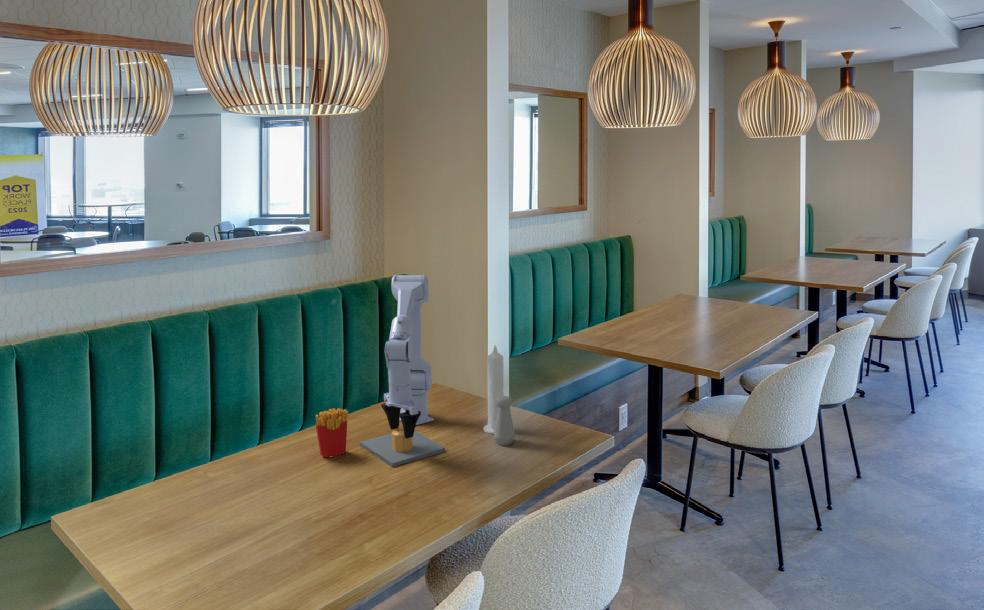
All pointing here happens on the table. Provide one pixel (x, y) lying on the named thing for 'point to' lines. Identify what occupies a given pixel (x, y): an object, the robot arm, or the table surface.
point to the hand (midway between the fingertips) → (401, 433)
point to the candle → (494, 387)
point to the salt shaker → (504, 422)
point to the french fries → (332, 432)
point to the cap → (401, 441)
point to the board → (387, 454)
